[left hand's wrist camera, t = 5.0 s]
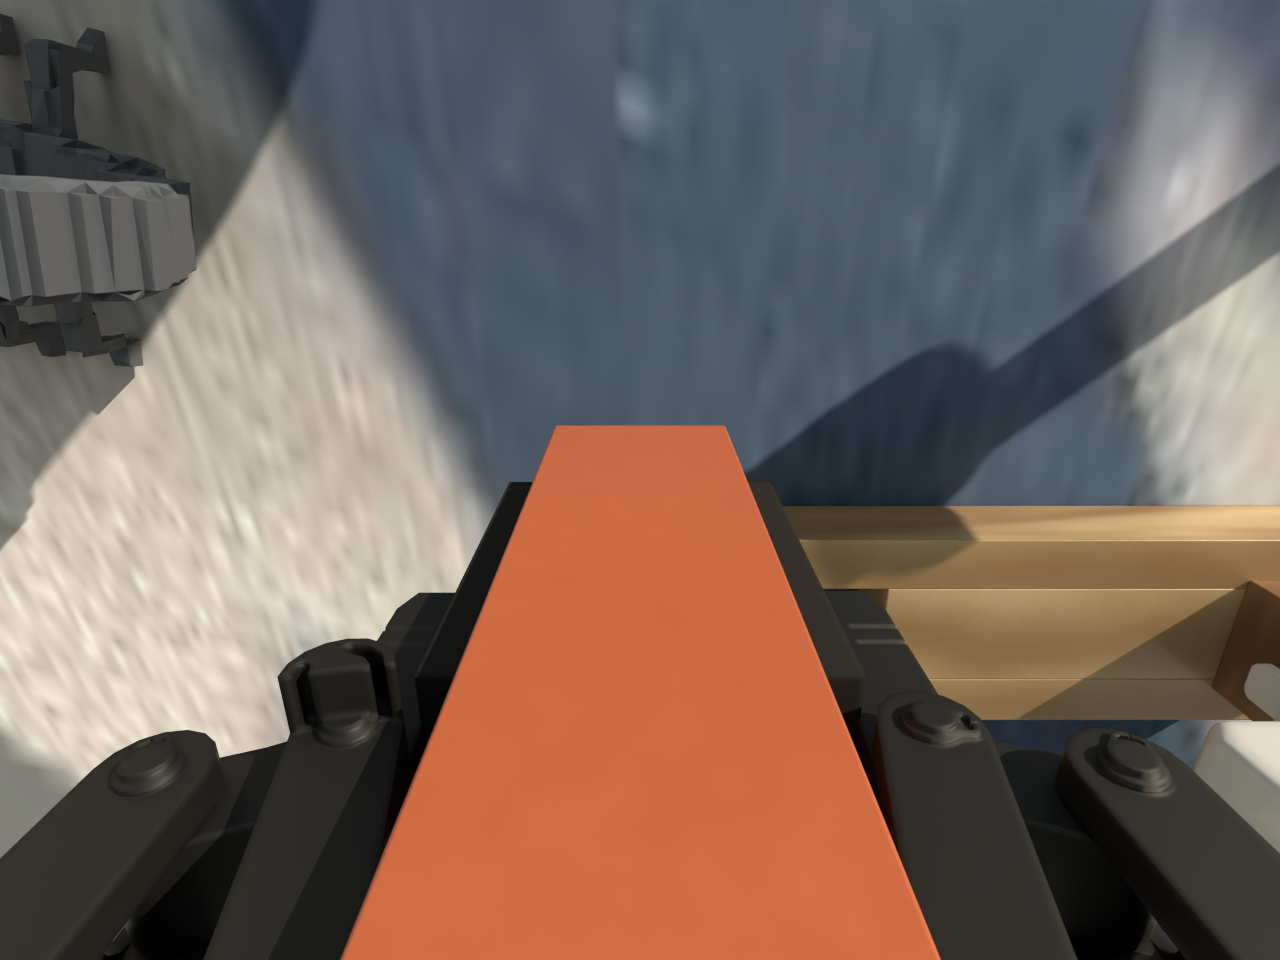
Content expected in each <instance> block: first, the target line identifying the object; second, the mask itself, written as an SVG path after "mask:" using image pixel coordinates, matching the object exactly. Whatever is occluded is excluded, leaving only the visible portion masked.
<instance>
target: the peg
mask: <svg viewBox="0 0 1280 960" xmlns="http://www.w3.org/2000/svg"><path fill="white" fill-rule="evenodd" d="M340 960H941V959H940V956H939V954H938V951H937V949H936V947H935V944H934V942H933V939H932V937H931V934H930V932H929V929H928V927H927V924H926V922H925V919H924V917H923V914H922V912H921V909H920V907H919V905H918V902H917V900H916V897H915V895H914V892H913V890H912V887H911V885H910V882H909V880H908V877H907V875H906V872H905V870H904V867H903V865H902V862H901V860H900V858H899V855H898V853H897V850H896V848H895V845H894V843H893V840H892V838H891V835H890V833H889V830H888V828H887V825H886V823H885V820H884V818H883V816H882V813H881V811H880V808H879V806H878V803H877V801H876V798H875V796H874V793H873V791H872V788H871V786H870V783H869V781H868V778H867V776H866V773H865V771H864V769H863V766H862V764H861V761H860V759H859V756H858V754H857V751H856V749H855V746H854V744H853V741H852V739H851V736H850V734H849V731H848V729H847V727H846V724H845V722H844V719H843V717H842V714H841V712H840V709H839V707H838V704H837V702H836V699H835V697H834V694H833V692H832V689H831V687H830V684H829V682H828V680H827V677H826V675H825V672H824V670H823V667H822V665H821V662H820V660H819V657H818V655H817V652H816V650H815V647H814V645H813V642H812V640H811V638H810V635H809V633H808V630H807V628H806V625H805V623H804V620H803V618H802V615H801V613H800V610H799V608H798V605H797V603H796V600H795V598H794V595H793V593H792V591H791V588H790V586H789V583H788V581H787V578H786V576H785V573H784V571H783V568H782V566H781V563H780V561H779V558H778V556H777V553H776V551H775V549H774V546H773V544H772V541H771V539H770V536H769V534H768V531H767V529H766V526H765V524H764V521H763V519H762V516H761V514H760V511H759V509H758V506H757V504H756V502H755V499H754V497H753V494H752V492H751V489H750V487H749V484H748V482H747V479H746V477H745V474H744V472H743V469H742V467H741V464H740V462H739V459H738V457H737V455H736V452H735V450H734V447H733V445H732V442H731V440H730V437H729V435H728V432H727V430H726V427H725V426H555V428H554V431H553V433H552V436H551V438H550V441H549V443H548V446H547V448H546V451H545V453H544V456H543V458H542V461H541V463H540V466H539V468H538V471H537V473H536V475H535V478H534V480H533V483H532V485H531V488H530V490H529V493H528V495H527V498H526V500H525V503H524V505H523V508H522V510H521V513H520V515H519V518H518V520H517V523H516V525H515V527H514V530H513V532H512V535H511V537H510V540H509V542H508V545H507V547H506V550H505V552H504V555H503V557H502V560H501V562H500V565H499V567H498V570H497V572H496V575H495V577H494V579H493V582H492V584H491V587H490V589H489V592H488V594H487V597H486V599H485V602H484V604H483V607H482V609H481V612H480V614H479V617H478V619H477V622H476V624H475V627H474V629H473V631H472V634H471V636H470V639H469V641H468V644H467V646H466V649H465V651H464V654H463V656H462V659H461V661H460V664H459V666H458V669H457V671H456V674H455V676H454V679H453V681H452V683H451V686H450V688H449V691H448V693H447V696H446V698H445V701H444V703H443V706H442V708H441V711H440V713H439V716H438V718H437V721H436V723H435V726H434V728H433V731H432V733H431V735H430V738H429V740H428V743H427V745H426V748H425V750H424V753H423V755H422V758H421V760H420V763H419V765H418V768H417V770H416V773H415V775H414V778H413V780H412V783H411V785H410V787H409V790H408V792H407V795H406V797H405V800H404V802H403V805H402V807H401V810H400V812H399V815H398V817H397V820H396V822H395V825H394V827H393V830H392V832H391V835H390V837H389V839H388V842H387V844H386V847H385V849H384V852H383V854H382V857H381V859H380V862H379V864H378V867H377V869H376V872H375V874H374V877H373V879H372V882H371V884H370V887H369V889H368V891H367V894H366V896H365V899H364V901H363V904H362V906H361V909H360V911H359V914H358V916H357V919H356V921H355V924H354V926H353V929H352V931H351V934H350V936H349V939H348V941H347V943H346V946H345V948H344V951H343V953H342V956H341V958H340Z"/></svg>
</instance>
